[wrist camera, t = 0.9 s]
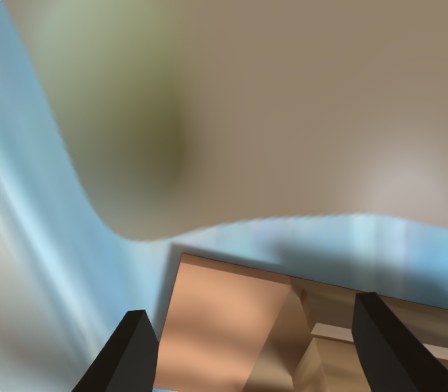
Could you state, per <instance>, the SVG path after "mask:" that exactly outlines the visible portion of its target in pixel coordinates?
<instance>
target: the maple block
mask: <svg viewBox="0 0 448 392" xmlns="http://www.w3.org/2000/svg"><path fill="white" fill-rule="evenodd" d="M291 378H292V383H293V387H294V392H371V389H370V387H369V384H368V382H367V379H366V377H365V374H364V372H363V369H362V367H361V364H360V361H359V358H358V354H357V351H356V348H355V345H352V344H347V343H342V342H337V341H331V340H326V339H321V338H316V337H314V338H313V339H312V341H311V343H310V345H309V346H308V348H307V350H306V352H305V353H304V355H303V357H302V359H301V360H300V362H299V364H298V366H297V367H296V369H295V371H294V373H293V374H292V376H291Z"/></svg>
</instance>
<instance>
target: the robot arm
mask: <svg viewBox="0 0 448 392" xmlns="http://www.w3.org/2000/svg"><path fill="white" fill-rule="evenodd" d="M351 333H352V337H353V340H354V344H355V348H356V351H357V354H358V358H359V361H360V364H361V367H362V369H363V372H364V374H365V377H366V379H367V382H368V384H369V387H370V389H371V392H448V369H447V368H446V367H445V366H444V365H443V364H442V363H441V362H440V361H439V360H438V359H437V358H436V357H435V356H434V355H433V354H432V353H431V352H430V351H429V350H428V349H427V348H426V347H425V346H424V345H423V344H422V343H421V342H420V341H419V340H418V339H417V338H416V337H415V336H414V334H413V333H412V332H411V331H410V330H409V329H408V328H407V327H406V326H405V325H404V324H403V323H402V321H401V320H400V319H399V318H398V317H397V316H396V315H395V314H394V312H393V311H392V310H391V309H390V308H389V307H388V306H387V304H386V303H385V302H384V301H383V300H382V299H381V297H380V296H379V295H378V294H377V293H376V292H368V293H356V295H355V304H354V312H353V321H352V329H351ZM158 352H159V343H158V341H157V338H156V336H155V333H154V331H153V328H152V326H151V323H150V321H149V318H148V316H147V313H146V311H145V310H134V311H128V312H127V313H126V314H125V316H124V317H123V319H122V320H121V322H120V323H119V325H118V326H117V328H116V329H115V331H114V332H113V334H112V335H111V337H110V338H109V340H108V341H107V343H106V344H105V346H104V347H103V349H102V350H101V352H100V353H99V355H98V356H97V357H96V359H95V360H94V362H93V363H92V364H91V366H90V367H89V369H88V370H87V372H86V373H85V374H84V376H83V377H82V378H81V380H80V381H79V382H78V384H77V385H76V386H75V388H74V389H73V390H72V392H152V390H153V385H154V381H155V376H156V368H157V361H158Z"/></svg>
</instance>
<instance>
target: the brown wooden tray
mask: <svg viewBox="0 0 448 392" xmlns="http://www.w3.org/2000/svg"><path fill="white" fill-rule="evenodd" d="M356 293H367V292H362V291H357V290H352V289H348V288H343V287H338V286H334V285H329V284H324V283H319V282H315V281H310V280H305V279H301V278H296V277H291V276H286V275H282V274H277V273H272V272H268V271H263V270H258V269H253V268H249V267H244V266H239V265H235V264H230V263H225V262H220V261H216V260H211V259H206V258H202V257H197V256H192V255H188V254H183V253H182V256H181V260H180V264H179V268H178V272H177V276H176V280H175V284H174V288H173V292H172V296H171V300H170V304H169V308H168V311H167V315H166V319H165V323H164V327H163V331H162V335H161V339H160V343H159V352H158V361H157V368H156V376H155V381H154V385H153V388H158V389H164V390H171V391H177V392H294V387H293V383H292V378H291V376H292V374H293V373H294V371H295V369H296V367H297V366H298V364H299V362H300V360H301V359H302V357H303V355H304V353H305V352H306V350H307V348H308V346H309V345H310V343H311V341H312V339H313V338H314V337H316V338H321V339H326V340H331V341H337V342H342V343H347V344H352V345H355V344H354V340H353V337H352V333H351V329H352V321H353V312H354V304H355V295H356ZM379 296H380V297H381V299H382V300H383V301H384V302H385V303H386V304H387V306H388V307H389V308H390V309H391V310H392V311H393V312H394V314H395V315H396V316H397V317H398V318H399V319H400V320H401V321H402V323H403V324H404V325H405V326H406V327H407V328H408V329H409V330H410V331H411V332H412V333H413V334H414V336H415V337H416V338H417V339H418V340H419V341H420V342H421V343H422V344H423V345H424V346H425V347H426V348H427V349H428V350H429V351H430V352H431V353H432V354H433V355H434V356H435V357H436V358H437V359H438V360H439V361H440V362H441V363H442V364H443V365H444V366H445V367H446V368H447V369H448V310H447V309H442V308H437V307H433V306H428V305H423V304H418V303H414V302H409V301H404V300H400V299H395V298H390V297H385V296H381V295H379Z"/></svg>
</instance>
